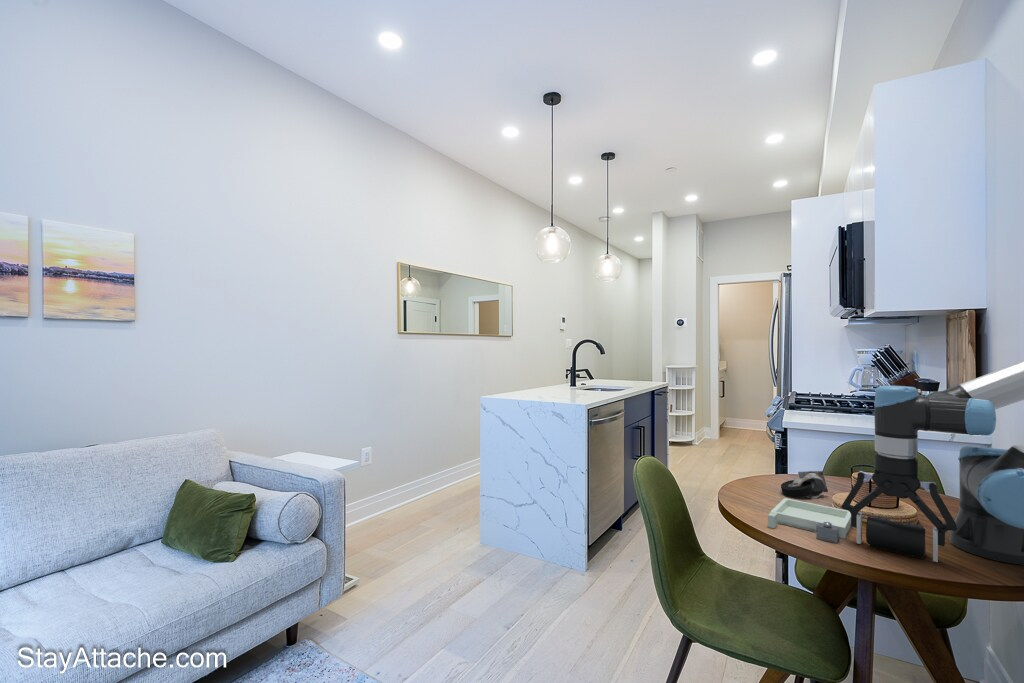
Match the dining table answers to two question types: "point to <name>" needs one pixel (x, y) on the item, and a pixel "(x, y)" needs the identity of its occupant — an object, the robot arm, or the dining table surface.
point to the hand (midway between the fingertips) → (895, 550)
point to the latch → (827, 532)
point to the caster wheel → (805, 485)
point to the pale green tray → (809, 516)
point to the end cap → (896, 536)
